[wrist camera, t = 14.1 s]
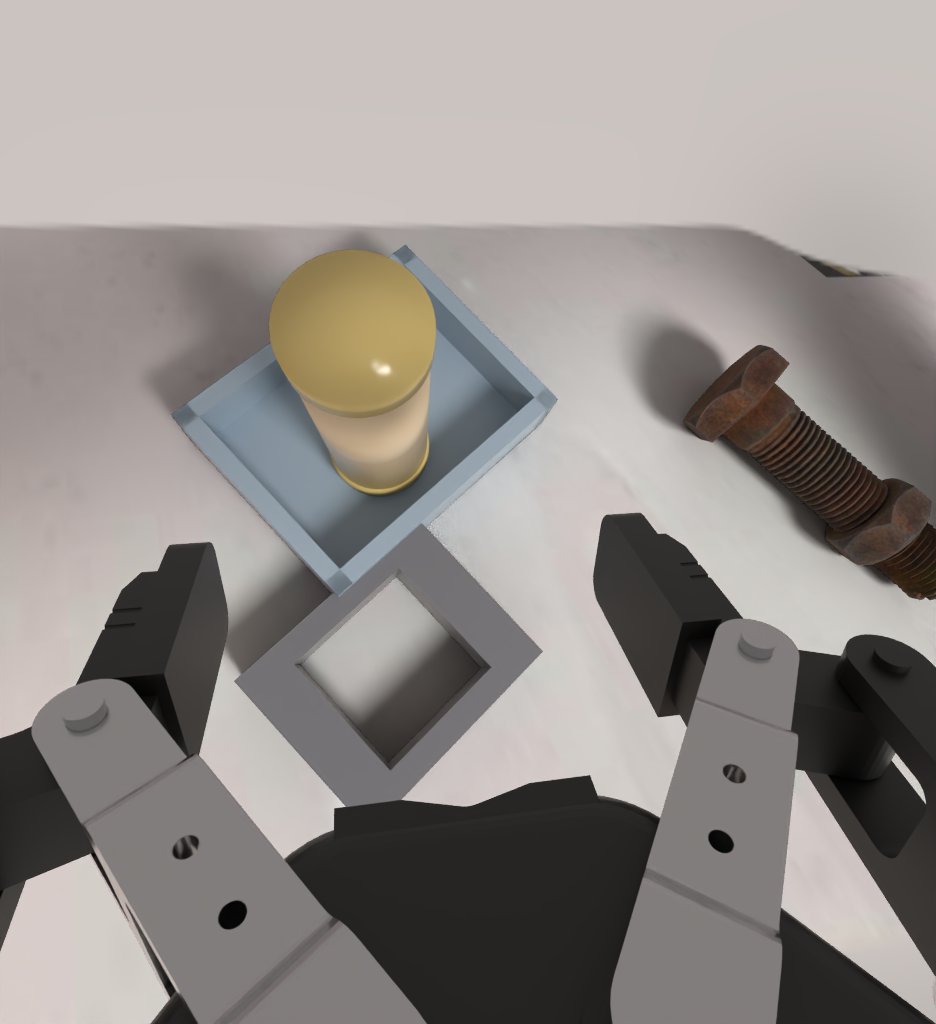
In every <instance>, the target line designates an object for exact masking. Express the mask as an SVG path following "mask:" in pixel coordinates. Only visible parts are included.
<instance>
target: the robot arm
mask: <svg viewBox="0 0 936 1024" xmlns="http://www.w3.org/2000/svg"><path fill="white" fill-rule="evenodd" d="M593 583H594V591H595V595H596V599H597V601H598V603H599V605H600V607H601V609H602V611H603V613H604V615H605V617H606V619H607V621H608V623H609V624H610V626H611V628H612V630H613V632H614V634H615V636H616V638H617V640H618V642H619V644H620V645H621V647H622V649H623V651H624V653H625V655H626V657H627V659H628V661H629V663H630V665H631V666H632V668H633V670H634V672H635V674H636V676H637V678H638V680H639V682H640V684H641V686H642V687H643V689H644V691H645V693H646V695H647V697H648V699H649V701H650V703H651V705H652V706H653V708H654V710H655V712H656V714H657V716H658V717H664V716H673V715H680V716H681V717H682V719H683V721H684V723H685V725H686V726H687V730H686V733H685V737H684V740H683V743H682V747H681V750H680V754H679V757H678V760H677V764H676V767H675V770H674V774H673V777H672V781H671V784H670V787H669V791H668V794H667V798H666V801H665V804H664V808H663V811H662V814H661V818H659V817H657V816H656V815H654V814H652V813H651V812H649V811H647V810H644V809H642V808H640V807H638V806H636V805H633V804H630V803H627V802H624V801H622V800H618V799H614V798H609V797H605V796H597V793H596V790H595V788H594V785H593V782H592V780H591V777H590V775H589V776H581V777H573V778H566V779H558V780H550V781H542V782H535V783H529V784H527V785H524V786H521V787H519V788H516V789H514V790H511V791H509V792H506V793H504V794H501V795H499V796H496V797H494V798H491V799H489V800H486V801H484V802H481V803H479V804H476V805H473V806H468V807H461V806H452V805H442V804H433V803H424V802H414V801H405V800H396V801H388V802H380V803H373V804H365V805H357V806H350V807H342V808H334V830H333V831H330V832H328V833H325V834H323V835H321V836H319V837H317V838H315V839H313V840H311V841H309V842H307V843H306V844H304V845H303V846H301V847H300V848H298V849H297V850H295V851H294V852H292V853H291V854H290V855H289V856H288V857H286V858H285V859H283V858H282V857H281V855H280V854H279V853H278V852H277V850H276V849H275V848H274V847H273V845H272V844H271V843H270V842H269V840H268V839H267V838H266V837H265V836H264V834H263V833H262V832H261V831H260V829H259V828H258V827H257V826H256V824H255V823H254V822H253V821H252V819H251V818H250V817H249V816H248V815H247V813H246V812H245V811H244V810H243V808H242V807H241V806H240V805H239V803H238V802H237V801H236V800H235V799H234V797H233V796H232V795H231V794H230V792H229V791H228V790H227V789H226V787H225V786H224V785H223V784H222V782H221V781H220V780H219V779H218V778H217V776H216V775H215V774H214V773H213V771H212V770H211V769H210V768H209V766H208V765H207V764H206V763H205V762H204V760H203V759H202V758H201V757H200V756H199V753H200V748H201V744H202V740H203V736H204V731H205V727H206V723H207V719H208V714H209V710H210V706H211V701H212V697H213V693H214V689H215V684H216V680H217V676H218V672H219V667H220V663H221V659H222V654H223V650H224V646H225V642H226V637H227V631H228V610H227V603H226V599H225V594H224V589H223V585H222V580H221V576H220V571H219V567H218V562H217V558H216V553H215V549H214V547H213V545H212V543H211V542H205V543H190V544H175V545H169V547H168V548H167V550H166V553H165V555H164V557H163V560H162V562H161V564H160V567H159V569H158V571H155V572H141V573H140V574H139V575H138V576H137V577H136V578H135V579H134V580H133V581H131V582H130V583H129V584H128V585H127V586H126V587H125V588H124V589H122V591H121V593H120V595H119V597H118V599H117V601H116V603H115V605H114V607H113V609H112V611H113V613H111V614H110V615H109V618H108V620H107V622H106V624H105V630H102V632H101V634H100V636H99V638H98V640H97V642H96V644H95V647H94V649H93V651H92V653H91V655H90V657H89V659H88V661H87V663H86V665H85V667H84V669H83V671H82V674H81V676H80V678H79V680H78V682H77V684H76V685H75V686H73V687H71V688H69V689H67V690H65V691H63V692H61V693H60V694H58V695H57V696H55V697H54V698H53V699H51V700H50V701H49V702H48V703H47V704H46V705H45V706H44V707H43V708H42V709H41V710H40V711H39V713H38V714H37V716H36V718H35V720H34V722H33V725H32V727H29V728H27V729H25V730H23V731H21V732H18V733H15V734H12V735H10V736H6V737H3V738H0V951H1V948H2V945H3V943H4V940H5V937H6V934H7V931H8V929H9V926H10V923H11V920H12V918H13V915H14V912H15V909H16V906H17V904H18V901H19V898H20V895H21V893H22V890H23V887H24V884H25V882H26V880H28V879H30V878H33V877H35V876H37V875H40V874H42V873H45V872H47V871H50V870H52V869H54V868H57V867H59V866H62V865H64V864H67V863H69V862H71V861H74V860H76V859H79V858H81V857H84V856H86V855H88V854H90V856H91V858H92V860H93V861H94V863H95V865H96V867H97V869H98V870H99V872H100V874H101V876H102V878H103V879H104V881H105V883H106V885H107V886H108V888H109V890H110V892H111V894H112V895H113V897H114V899H115V901H116V903H117V904H118V906H119V908H120V910H121V912H122V913H123V915H124V917H125V919H126V921H127V922H128V924H129V926H130V928H131V930H132V931H133V933H134V935H135V937H136V939H137V941H138V942H139V944H140V946H141V948H142V950H143V952H144V954H145V956H146V958H147V960H148V962H149V964H150V965H151V967H152V969H153V971H154V973H155V975H156V977H157V979H158V981H159V982H160V984H161V986H162V988H163V990H164V992H165V993H166V995H167V997H168V999H169V1001H168V1002H167V1003H166V1005H165V1006H164V1007H163V1009H162V1010H161V1011H160V1012H159V1014H158V1015H157V1016H156V1018H155V1019H154V1020H153V1021H152V1023H151V1024H935V1023H934V1022H933V1021H932V1020H930V1019H929V1018H928V1017H926V1016H925V1015H924V1014H922V1013H921V1012H920V1011H918V1010H917V1009H915V1008H914V1007H913V1006H912V1005H910V1004H909V1003H908V1002H906V1001H905V1000H903V999H902V998H901V997H899V996H898V995H897V994H896V993H894V992H893V991H892V990H890V989H889V988H887V987H886V986H884V984H882V983H881V982H879V981H878V980H877V979H875V978H874V977H873V976H871V975H870V974H869V973H867V972H866V971H865V970H863V969H862V968H861V967H859V966H858V965H857V964H855V963H854V962H853V961H851V960H850V959H849V958H847V957H846V956H845V955H843V954H842V953H841V952H839V951H838V950H837V949H835V948H834V947H833V946H831V945H830V944H829V943H827V942H826V941H825V940H823V939H822V938H821V937H819V936H818V935H817V934H815V933H814V932H813V931H811V930H810V929H809V928H807V927H806V926H805V925H803V924H802V923H801V922H799V921H798V920H797V919H795V918H794V917H793V916H791V915H790V914H789V913H787V912H786V911H785V910H783V909H782V908H781V902H782V892H783V883H784V873H785V864H786V854H787V845H788V835H789V825H790V816H791V806H792V797H793V787H794V778H795V769H797V770H803V771H805V772H806V774H807V775H808V777H809V778H810V780H811V782H812V783H813V785H814V786H815V788H816V789H817V791H818V793H819V794H820V796H821V797H822V799H823V800H824V802H825V804H826V805H827V807H828V808H829V810H830V811H831V813H832V815H833V816H834V818H835V819H836V821H837V822H838V824H839V826H840V827H841V829H842V830H843V832H844V833H845V835H846V837H847V838H848V840H849V841H850V843H851V844H852V846H853V848H854V849H855V851H856V852H857V854H858V855H859V857H860V859H861V860H862V862H863V863H864V865H865V866H866V868H867V870H868V871H869V873H870V874H871V876H872V877H873V879H874V881H875V882H876V884H877V885H878V887H879V888H880V890H881V892H882V893H883V895H884V896H885V898H886V899H887V901H888V903H889V904H890V906H891V907H892V909H893V910H894V912H895V914H896V915H897V917H898V918H899V920H900V921H901V923H902V925H903V926H904V928H905V929H906V931H907V932H908V934H909V936H910V937H911V939H912V940H913V942H914V943H915V945H916V947H917V948H918V950H919V951H920V953H921V954H922V956H923V957H924V959H925V961H926V962H927V964H928V965H929V967H930V968H931V970H932V972H933V973H934V975H935V976H936V667H935V666H934V665H933V664H932V663H931V662H930V661H929V660H928V659H927V658H925V657H924V656H923V655H922V654H920V653H919V652H918V651H916V650H915V649H913V648H911V647H910V646H908V645H906V644H904V643H902V642H899V641H897V640H894V639H891V638H888V637H883V636H879V635H859V636H855V637H853V638H851V639H850V640H849V641H848V642H847V644H846V646H845V649H844V651H843V653H842V655H841V656H838V655H830V654H823V653H816V652H809V651H802V650H798V649H797V647H796V645H795V644H794V642H793V641H792V640H791V639H790V638H789V637H788V636H787V635H786V634H784V633H783V632H781V631H780V630H778V629H777V628H775V627H773V626H771V625H768V624H766V623H763V622H760V621H756V620H751V619H743V618H742V616H741V615H740V614H739V613H738V611H737V610H736V609H735V608H734V606H733V605H732V604H731V603H730V601H729V600H728V599H727V598H726V596H725V595H724V594H723V593H722V591H721V590H720V589H719V588H718V586H717V585H716V584H715V583H714V581H713V580H712V579H711V578H708V574H707V573H706V571H705V570H704V569H703V568H702V566H701V565H698V561H697V560H696V559H695V558H694V556H693V555H692V554H691V553H690V551H689V550H688V549H687V548H686V546H684V545H682V544H681V543H679V542H678V541H676V540H675V539H673V538H672V537H670V536H669V535H667V534H657V532H656V531H655V530H654V528H653V527H652V526H651V525H650V523H649V522H648V521H647V519H646V518H645V517H644V515H643V514H641V513H627V514H612V515H606V516H605V517H604V518H603V520H602V523H601V529H600V535H599V542H598V548H597V554H596V561H595V567H594V575H593ZM895 753H896V754H897V755H898V756H899V757H900V759H901V760H902V761H903V762H904V764H905V765H906V766H907V767H908V769H909V770H910V771H911V772H912V774H913V775H914V776H915V777H916V779H917V780H918V782H919V783H920V785H921V787H922V789H923V791H924V795H925V799H926V804H925V803H924V801H923V800H922V799H921V798H920V796H919V795H918V794H917V792H916V791H915V790H914V789H913V787H912V786H911V785H910V783H909V782H908V781H907V780H906V778H905V777H904V776H903V775H902V773H901V772H900V771H899V769H898V768H897V767H896V766H895V764H894V763H893V762H892V758H893V756H894V755H895ZM933 998H934V1003H935V1007H936V977H935V979H934V984H933Z"/></svg>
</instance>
